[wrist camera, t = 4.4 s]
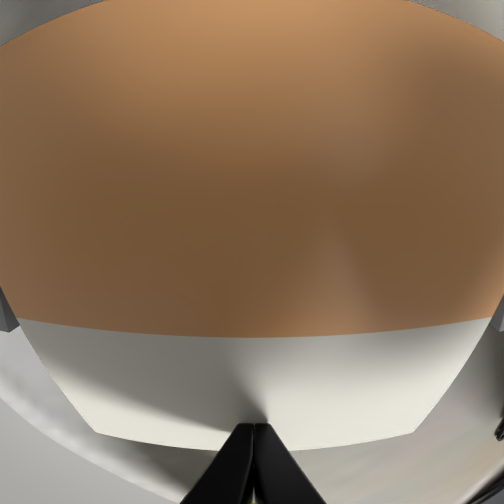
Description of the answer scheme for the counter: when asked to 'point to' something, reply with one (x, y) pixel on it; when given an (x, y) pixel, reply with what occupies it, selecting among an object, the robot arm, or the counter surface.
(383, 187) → the two-tone square pad
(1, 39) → the counter surface
